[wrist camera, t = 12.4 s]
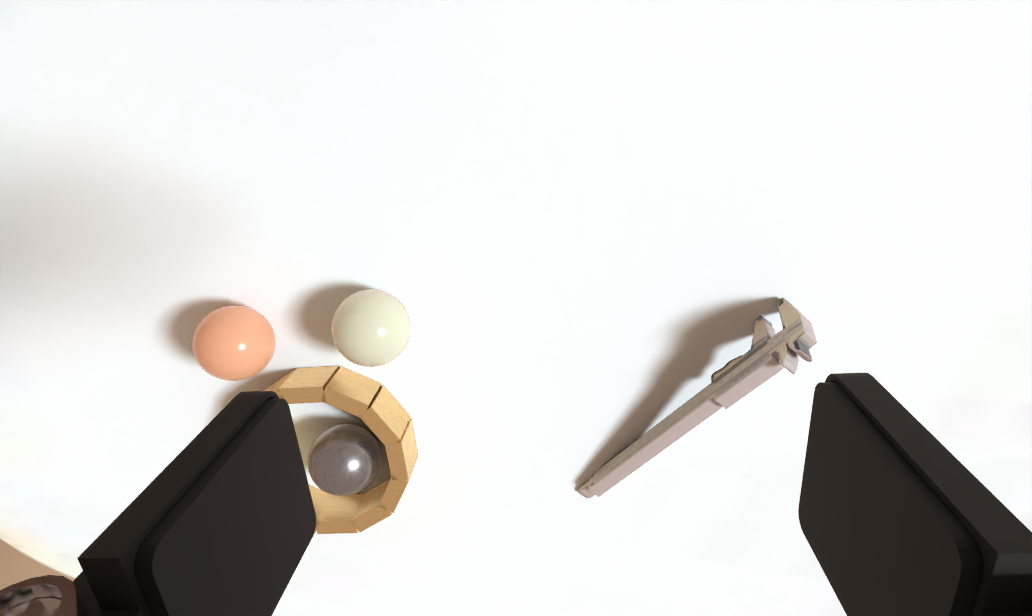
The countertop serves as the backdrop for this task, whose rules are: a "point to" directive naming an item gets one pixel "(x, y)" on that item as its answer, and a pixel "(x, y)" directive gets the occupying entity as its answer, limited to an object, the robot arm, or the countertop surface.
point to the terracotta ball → (233, 343)
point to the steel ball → (344, 459)
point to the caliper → (716, 393)
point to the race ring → (384, 422)
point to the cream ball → (371, 327)
